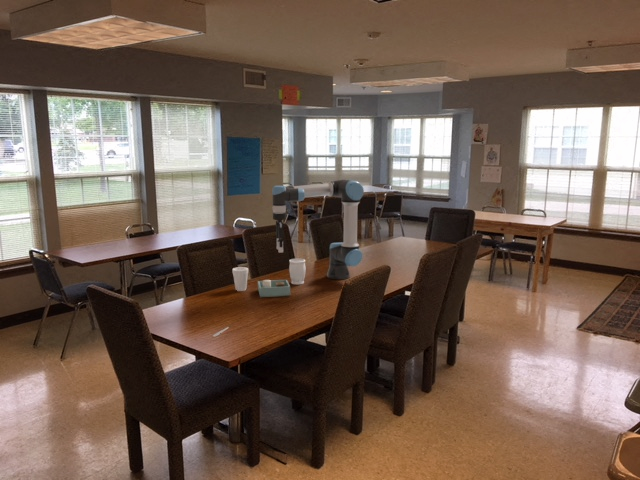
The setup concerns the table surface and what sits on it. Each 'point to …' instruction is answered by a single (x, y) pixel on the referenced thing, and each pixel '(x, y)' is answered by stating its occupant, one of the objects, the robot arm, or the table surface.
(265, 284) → the ceramic canister
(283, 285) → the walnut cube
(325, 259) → the table surface
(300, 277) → the jar
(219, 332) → the butter knife
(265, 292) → the tote
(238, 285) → the foam cup
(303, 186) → the robot arm
